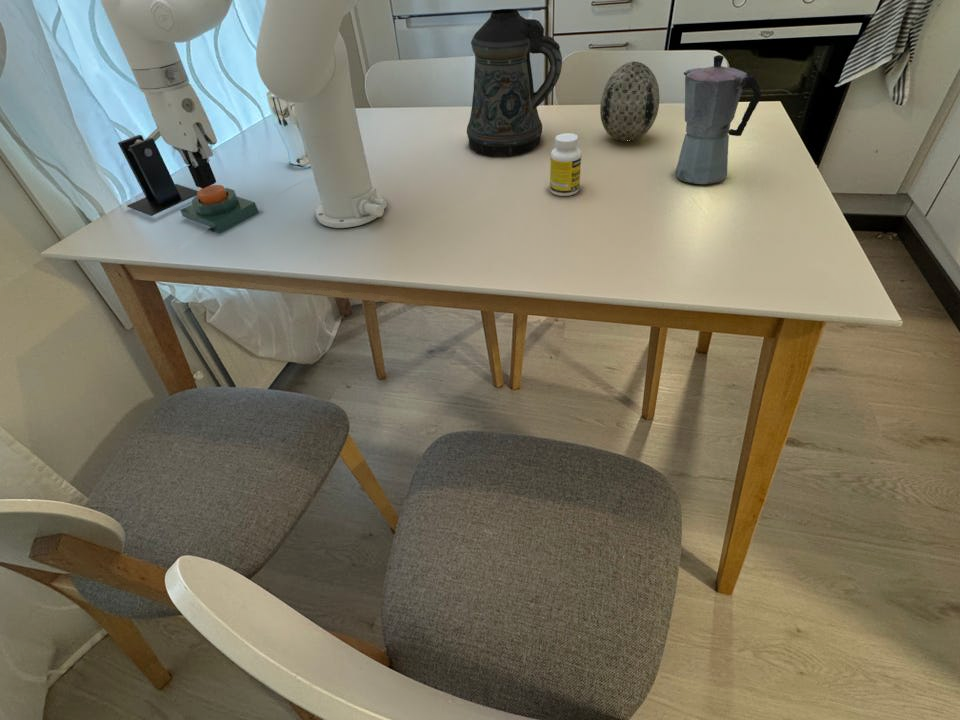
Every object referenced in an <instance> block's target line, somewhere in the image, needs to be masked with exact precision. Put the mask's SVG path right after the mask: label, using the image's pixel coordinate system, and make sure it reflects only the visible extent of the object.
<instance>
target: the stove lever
mask: <svg viewBox="0 0 960 720" xmlns="http://www.w3.org/2000/svg"><path fill="white" fill-rule="evenodd" d="M161 137H162V136H161V134H160V132H159V130H158V128H157V127H156V129H154V130H153V131H152V132H151V133H150V134H149V135H148V136H147V137H146V138H145V139H144V140H146V139H148V138H153V139H154V141H155V142H156V141H158V140H159V138H161ZM140 141H142V140H139V139H137V140H136V141H135V142H134V143H133V144H135V143H138V142H140ZM127 150H128V151H129V152H130V153H131V154H132V152H131V150H130V148H127ZM132 155H133V154H132Z"/></svg>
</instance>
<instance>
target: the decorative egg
mask: <svg viewBox="0 0 960 720" xmlns="http://www.w3.org/2000/svg"><path fill="white" fill-rule="evenodd" d="M659 108H660V88H659V83H658V80H657V78H656V76H655V74H654V73H653V71H652V70H651V68H650V67H648V65H646V64H645V63H643V62H639V61H629V62H626V63H624V64H622V65H621V66H619V67H618V68H616V70H615V71H613V73H612V74H611V76H610V77H609V79H608V80H607V82H606V84H605V87H604V89H603V92H602V95H601V100H600V107H599V113H600V114H599V115H600V120H601V124H602V127H603V129H604V130H605V132H606V133H607V135H609V136H610V137H611V138H613V139H614V140H616V141H619V142H623V143H629V142H633V141H636V140H638V139H640V138H642V137H644V136H645V135H646V134H647V133H648V132H649V131H650V129H651V128H652V126H653V125H654V123H655V121H656V119H657V116H658V114H659ZM627 140H628V141H627ZM629 140H630V141H629Z"/></svg>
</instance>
